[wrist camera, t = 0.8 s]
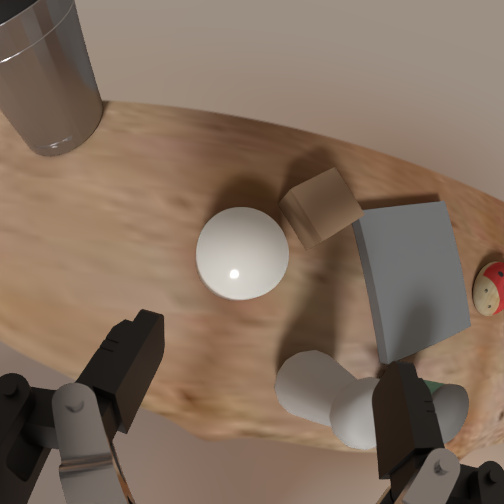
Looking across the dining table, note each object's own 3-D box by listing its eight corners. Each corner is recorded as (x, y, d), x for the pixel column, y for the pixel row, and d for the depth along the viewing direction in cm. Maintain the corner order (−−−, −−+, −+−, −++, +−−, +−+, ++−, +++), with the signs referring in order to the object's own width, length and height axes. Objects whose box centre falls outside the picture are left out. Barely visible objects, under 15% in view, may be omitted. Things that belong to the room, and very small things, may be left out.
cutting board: (349, 215, 31) (357, 210, 30) (436, 204, 34) (444, 200, 32) (379, 362, 29) (388, 364, 27) (462, 326, 32) (470, 325, 30)
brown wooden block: (277, 204, 30) (290, 189, 26) (317, 183, 31) (334, 166, 27) (305, 250, 30) (322, 241, 26) (344, 226, 31) (365, 214, 27)
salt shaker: (260, 359, 27) (320, 393, 14) (320, 338, 28) (410, 350, 16) (278, 418, 26) (342, 482, 13) (334, 395, 27) (423, 435, 15)
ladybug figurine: (463, 280, 33) (484, 276, 30) (497, 252, 36) (515, 247, 32) (477, 328, 33) (497, 327, 29) (509, 294, 35) (527, 292, 32)
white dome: (189, 227, 28) (189, 213, 24) (266, 216, 29) (278, 201, 26) (203, 307, 27) (206, 306, 23) (282, 292, 28) (297, 288, 24)
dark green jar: (364, 382, 28) (424, 400, 19) (404, 365, 29) (467, 375, 20) (369, 427, 27) (426, 455, 18) (409, 408, 28) (468, 427, 20)
